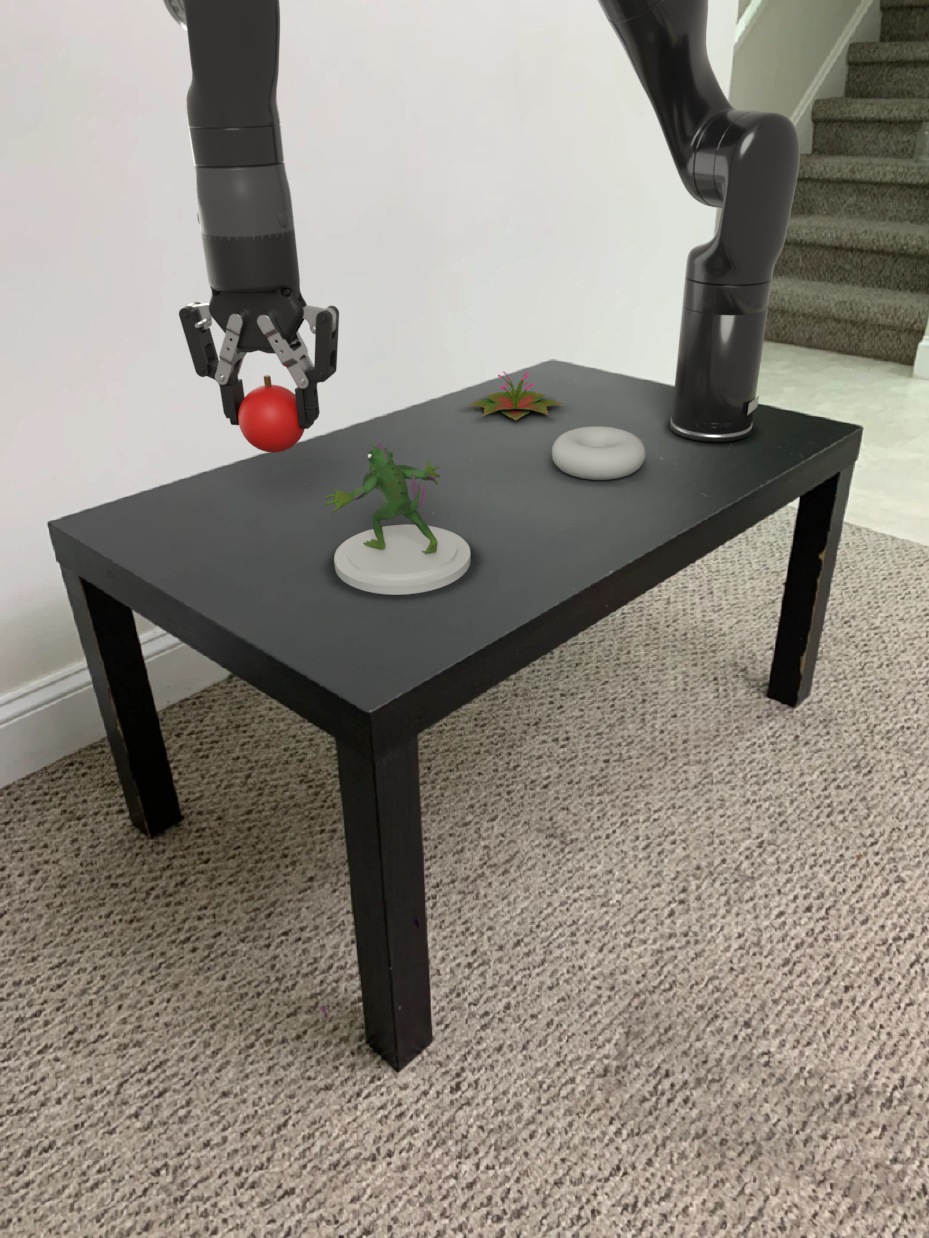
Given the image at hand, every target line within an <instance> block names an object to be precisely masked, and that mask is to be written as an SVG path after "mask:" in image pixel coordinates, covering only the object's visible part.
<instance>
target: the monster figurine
mask: <svg viewBox="0 0 929 1238" xmlns="http://www.w3.org/2000/svg"><path fill="white" fill-rule="evenodd" d="M368 441H369V442H370V443H371V445H372V449H371V450H369V451H368V452H367V460H368V462H369V464H368V469H369V472H367V473H366V474H365V475H364V477H363V479H362V480H363V481H362V486H358V487H356V488H354V489H353V490H352V491H350V492H345V491H342V490H339V489H333V492H334V493H329V494H328V495H326V497H325V498H324V500H328V499H330V498H334V499H331V500H329V501H327V502H326V503H324V504H323V506H324V507H325V506H328V505H332V504H333V505H336V507H335V508H334V509H333V510H332V511H331V512H330V513H331V514H332V513H334V512H336V511H338V510H340V509H342V508H343V507H345V506H347V505H348V504H350V503H351V502H353V501H357V500H360V499H362V498H364V497H366V496H367V495H369V493H371V492H372V491H373V490H374V489H376V490H378V491H380V493H382V499H383V504H381V506H379V507H378V508H377V509H376V510H375V511H374V512H373V513H372V517H371V521H372V528H371V529H367V530H365V531H361V532H359V533H357V534H355V535H353V536H351V537H349V538H348V539H346V540H344V542H342V543H341V544H340V545H339V546H338V547H337V548H336V550H335V553H334V555H333V556H334V557H333V562H334V569H335V573H336V575H337V576H338V578H339V579H341V581H342V582H344V583H345V584H347V585H348V586H351V587H353V588H355V589H358V590H361V591H364V592H368V593H373V594H380V595H390V596H391V595H394V596H395V595H397V596H398V595H399V596H401V595H412V594H413V595H414V594H422V593H427V592H431V591H435V590H437V589H441V588H443V587H445V586H448V585H450V584H453V583H454V582H456V581H458V580H459V579H460V578H461V577H463V576H464V575H465V574H466V572H467V571H468V570H469V568H470V567H471V561H472V559H471V548H470V545H469V544H468V542H467V541H466V539H464V538H462V536H460V535H459V534H456V533H455V532H453V531H450V530H447V529H445V528H441V527H437V526H431V525H428V524H427V523H426V522H425V521H424V520H423V519H422V517H421V515H420V514H419V512H418V511H417V510H418V508H419V507H422V506H423V505H424V503H425V501H426V495H427V482H426V481H432V482H433V483H435V485H438V484H439V482H438V480H437V478H440V477H441V474H440V473H437V472H435V471H436V470H438V469H439V466H438V465H436V466H432V465H431V463H430V460H429V459H427V460H426V467H425V469H423V470H421V469H418V468H416V467H413V466H409V465H406V464H399V465H398V464H396V463H395V461H394V459H393V452H391V451H389V450H388V449H387V448H386V447H384V445H382V444H381V442H378V443H377V444H376V445H374V444H373V442H372V440H371V438H368ZM419 479H421V480H423V481H425V482H424V485H422V483H421V482H419V483H417V482H416V480H419ZM406 480H411V486H412V487H411V489H412V494H413V501H412V500H411V499H410V497H409V490H408V485H407V481H406ZM401 515H403V516H404V517H405V518H406V519H408V520H409V522H412V523H413V524H394V525H393V524H392V525H386V526H382V524H381V521H384V520H390V519H393V518H395V517H398V516H401Z"/></svg>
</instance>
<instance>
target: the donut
mask: <svg viewBox="0 0 929 1238" xmlns="http://www.w3.org/2000/svg"><path fill="white" fill-rule="evenodd" d="M551 455H552V461H553V462H554V465H555V466H556V467H558V468H559V470H560V471H561V472H563V473H565V474H567V475H569V476H572V477H575V478H578V479H579V478H580V479H582V480H592V481H608V480H610V481H611V480H617V479H621V478H624V477H627V476H630V475H631V474H633V473H635V472H636V471H637V470H639V469H640V468H641V466H642V465H643V463H644V461H645V458H646V449H645V446H644V443H643V442H642V440H641V439H640V438H639V437H637V436H636V435H635V434H634V433H631V432H629V431H626V430H624V429H621V428H616V427H612V426H610V427H609V426H602V425H601V426H583V427H578V428H574V429H571V430H570V429H569V430H568V431H565V432H564V433H562V434H561V435H559V436H558V437H557V438H556V439H555V441H554V442H553V444H552V447H551Z"/></svg>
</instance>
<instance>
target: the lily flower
mask: <svg viewBox="0 0 929 1238" xmlns="http://www.w3.org/2000/svg"><path fill="white" fill-rule="evenodd" d="M502 373H503V374H504V375H505V376H506V378H505V377H504V376H502V375H501V374H497V377H499V378H501V379H503V380H504V381H505V382H504V385H505V386H506V387H508V388H509V389H508V388H506V387H505V386H503V385H500V388H501V389H502V390H504V391H498V392H494V393H491V394H486V395H484V397H486V398H487V399H480V400H477V401H474V402H472V403H469V404H467V406H470V407H477V408H478V407H479V408H484V409H483V414H482V415H481V417H484V416H487V415H489V414H491V413H495V412H497V411H500V410H501V413H502V414H503V415H505V416H507V417H508V418H510V419H512V420H514V421H517V420H519V419H521V417H524V416H525V415H528V414H529V413H530V412H531V411H534V412H537V413H541V414H545V415H546V416H550V414H549V411H548V407H551V406H559V405H565V403H564V402H560V401H556V400H555V399H547V398H546V399H543V398H544V396H547V395H548V394H546V393H541V392H536V391H532V390H529V389H530V388H532V387H533V386H534V385H535V384H534V383H533V382H532V383H530V384H529V386H527V387H525V386H526V385H527V384H528V383H527V382H524V381H525V379H527V378H528V377H529V376H530V374H529V370H527V371H526V372H525V373H524V375H523V376H522V378H521V379H520V381H519V382H518V385H517V388H515V387H514V384H513V382H512V380H511V379H510V377H509V376H508V374H507V372H505V370H503V371H502ZM523 387H525V389H524V390H522V389H523ZM521 390H522V391H521Z"/></svg>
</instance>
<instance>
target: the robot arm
mask: <svg viewBox="0 0 929 1238" xmlns="http://www.w3.org/2000/svg"><path fill="white" fill-rule="evenodd" d="M162 2H163V4H164V6H165V9H166V10H167V12H168V13H169V15H170V16H171V18H172V19H173V20H174V22H176V23H177V24H178V25H179V27H181V28H182V29H183V30H184V31H186V32H187V40H188V41H187V42H188V49H189V50H188V51H189V59H190V60H189V61H190V69H191V83H190V85H189V86H188V88H187V92H186V99H185V101H186V104H185V105H186V117H187V118H186V119H187V126H188V133H189V139H190V140H189V141H190V146H191V155H192V159H193V165H194V174H195V176H194V177H195V178H194V179H195V201H196V206H197V207H196V208H197V213H196V214H197V215H196V216H197V222H198V224H199V228H200V229H199V230H200V235H201V241H202V249H203V253H204V254H203V255H204V261H205V268H206V275H207V282H208V284H209V287H210V290H211V295H210V300H209V302H208V303H207V302H206V303H201V302H200V301H195V302H192V303H189V304H187V305H185V306H184V307H182V308H180V309H179V312H178V316H179V320H180V323H181V324H180V325H181V327H182V330H183V334H184V337H185V340H186V344H187V347H188V350H189V351H188V352H189V354H190V357H191V361H192V364H193V367H194V371H195V374H196V375H197V376H199V377H201V378H205V377H208V378H210V379H212V380H214V381H216V383H217V384H218V385H219V391H220V397H221V404H222V405H221V406H222V410H223V411H222V412H223V415H224V416H225V418H226V419H229V424H230V425H232V426H239V421H238V413H239V408H240V405H241V403H242V401H243V399H244V398H245V397H246V395H245V390H244V383H243V379H242V378H239V374H240V372H241V369H242V365H243V361H244V359H245V356H247V354H248V353H254V352H262V353H265V354H274V355H276V357H277V359H278V360H279V362H280V364H281V365H282V366H283V367H285V368H286V370H287V371H288V372H289V374H290V376H291V378H292V379H293V381H294V383H295V385H296V388H294V394H295V397H296V406H297V415H298V423H299V428H300V429H305V430H309V429H310V428H311V427H312V426H313V425H314V424H315V421H316V420H317V419H318V418H319V416H320V411H321V410H320V402H319V392H318V391H319V390H318V384H319V383H325V382H326V381H327V380H328V379H330V378H331V377H332V376H333V375H334V374H335V373H336V372H337V367H338V366H337V365H338V348H339V347H338V345H339V326H340V311H339V309H338V308H337V307H336V306H335V305H329V306H327V307H319V306H314V305H308V303H307V301H306V300H305V298H304V297H303V294H302V292H301V279H300V269H299V258H298V249H297V241H296V239H297V237H296V231H295V220H294V211H293V209H294V208H293V200H292V199H293V198H292V192H291V188H290V184H289V178H288V175H287V171H286V163H285V155H284V146H283V144H284V143H283V135H282V127H281V116H280V111H279V106H278V99H277V98H278V82H279V73H280V49H281V48H280V44H281V7H280V6H281V4H280V0H162ZM597 2H598V4H599V6H600V8H601V10H602V12H603V14H604V16H605V18H606V20H607V22H608V23H609V25H610V26H611V29H612V30H613V32H614V34H615V35H616V37H617V39H618V41H619V43H620V44H621V46H622V48H623V50H624V52H625V55H626V56H627V58H628V61H629V62H630V65H631V67H632V69H633V71H634V73H635V75H636V77H637V79H638V81H639V83H640V85H641V87H642V89H643V91H644V93H645V94H646V96H647V99H648V101H649V103H650V104H651V107H652V109H653V111H654V114H655V116H656V118H657V122H658V124H659V126H660V129H661V131H662V134H663V136H664V140H665V143H666V145H667V148H668V150H669V153H670V156H671V158H672V161H673V164H674V166H675V168H676V171H677V174H678V176H679V178H680V180H681V183H682V185H683V186H684V188H685V190H686V191H687V192H688V194H689V195H690V196H691V198H693V199H694V200H695V201H696V202H699V203H700V204H702V205H704V206H707V207H712V208H715V209H716V208H717V209H721V211H720V215H719V221H718V227H717V230H716V234H714V236H713V237H712V238H711V239H710V240H709V241H707V242H704V243H701V244H698V245H696V246H693V248H691V249H690V250H689V252H688V254H687V258H686V264H685V265H686V266H685V274H684V283H683V284H684V285H683V294H682V307H681V318H680V327H679V338H678V347H677V357H676V358H677V359H676V369H675V379H674V391H673V397H672V398H673V399H672V409H671V410H672V411H671V417H670V422H669V429H670V430H671V432H672V433H674V434H676V435H677V436H680V437H682V438H686V439H688V440H693V441H698V442H709V443H728V442H733V441H734V442H735V441H739V440H743V439H745V438H747V437H749V436H750V435H751V434H752V431H753V425H754V424H753V423H754V422H753V418H754V411H755V410H756V409H757V408H758V406H759V398H760V395H758V396H757V392H758V391H757V390H758V382H759V376H760V369H761V362H762V356H763V348H764V340H765V333H766V326H767V320H768V312H769V303H770V297H771V291H772V290H771V289H772V282H773V278H774V277H773V276H774V270H775V265H776V263H777V261H778V259H779V257H780V255H781V253H782V251H783V248H784V246H785V242H786V238H787V234H788V229H789V223H790V218H791V213H792V208H793V203H794V198H795V192H796V188H797V182H798V177H799V171H800V162H801V161H800V160H801V147H800V145H801V144H800V139H799V138H800V137H799V133H798V130H797V128H796V126H795V124H794V122H793V121H792V120H791V119H790V118H789V117H788V116H786V115H784V114H783V113H779V112H775V111H768V110H767V111H763V110H743V109H742V110H739V109H736V108H734V107H733V105H732V104H731V103H730V101H729V99H727V97H726V95H725V94H724V91H723V89H722V88H721V86H720V83H719V81H718V79H717V77H716V74H715V72H714V70H713V68H712V65H711V62H710V58H709V55H708V49H707V48H708V47H707V29H708V13H709V0H597ZM213 320H214V321H215V323H216V324H217V325H218V327H219V328H220V329H221V330H222V331H223V333H224V334H225V335H224V338H223V341H222V344H221V348H220V351H219V353H218V352H217V348H216V345H215V342H214V338H213V335H212V331H211V327H212V326H213ZM304 321H306V322H307V323H308V325H309V330H310V332H311V333H312V334H313V335H315V337H314V363H313V362H312V360H311V358H310V355H309V350H308V347H307V345H306V344H305V341H304V340H303V338H302V336H301V334H300V332H299V330H300V328H301V326H302V325H303V323H304ZM218 354H219V355H218Z"/></svg>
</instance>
